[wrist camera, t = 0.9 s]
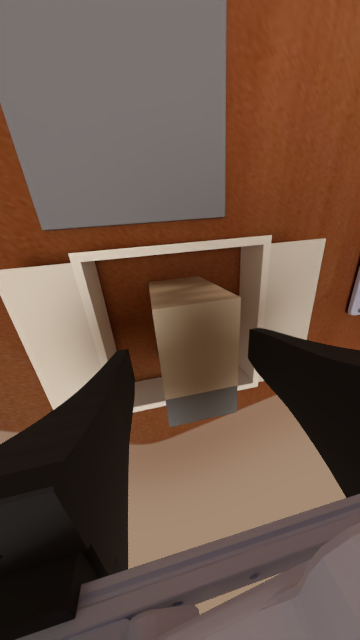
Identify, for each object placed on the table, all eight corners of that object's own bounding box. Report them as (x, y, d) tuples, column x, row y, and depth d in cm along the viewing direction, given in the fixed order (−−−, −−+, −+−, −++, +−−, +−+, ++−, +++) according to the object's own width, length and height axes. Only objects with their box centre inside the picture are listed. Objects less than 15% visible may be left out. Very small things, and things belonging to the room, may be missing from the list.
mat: (223, 2, 10) (226, -8, 9) (222, 217, 13) (225, 216, 13) (-37, -21, 8) (-45, -34, 8) (45, 230, 12) (42, 230, 11)
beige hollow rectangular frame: (293, 233, 15) (327, 229, 12) (276, 359, 19) (298, 377, 17) (20, 258, 12) (-16, 261, 9) (75, 397, 17) (61, 427, 14)
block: (198, 276, 15) (241, 297, 8) (202, 351, 17) (236, 412, 11) (148, 282, 14) (151, 309, 8) (159, 358, 17) (169, 427, 10)
